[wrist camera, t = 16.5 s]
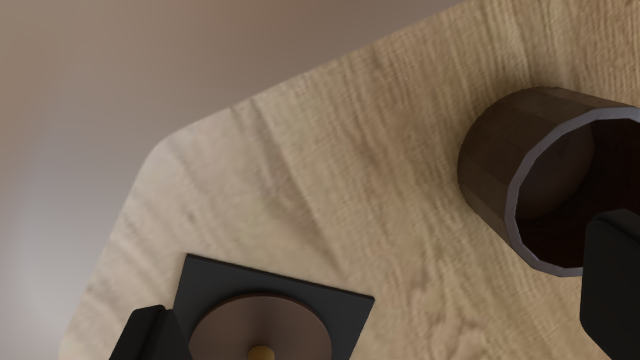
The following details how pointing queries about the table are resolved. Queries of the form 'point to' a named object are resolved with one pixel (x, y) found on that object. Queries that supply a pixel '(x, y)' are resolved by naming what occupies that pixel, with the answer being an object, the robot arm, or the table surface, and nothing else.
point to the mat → (232, 280)
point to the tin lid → (260, 330)
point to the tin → (551, 171)
